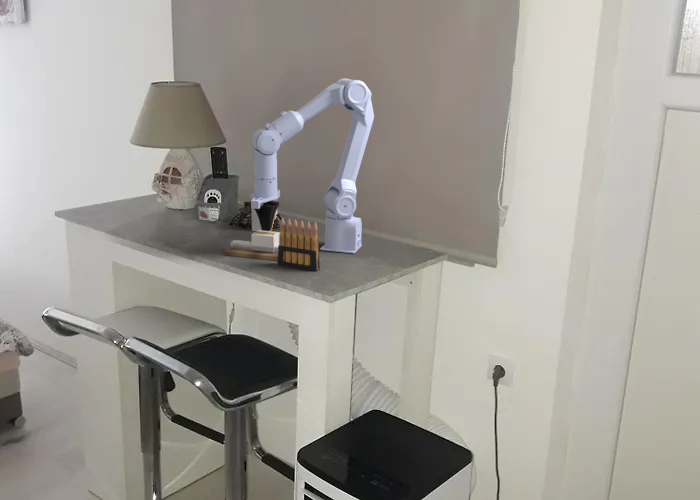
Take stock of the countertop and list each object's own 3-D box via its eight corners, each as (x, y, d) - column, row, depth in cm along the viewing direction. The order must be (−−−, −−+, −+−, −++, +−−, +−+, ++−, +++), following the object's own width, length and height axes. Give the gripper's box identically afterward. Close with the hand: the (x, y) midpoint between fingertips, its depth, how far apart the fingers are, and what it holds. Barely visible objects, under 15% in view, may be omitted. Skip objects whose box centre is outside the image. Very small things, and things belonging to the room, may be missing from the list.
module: (280, 247, 180) (279, 231, 179) (273, 252, 176) (273, 235, 175) (258, 245, 182) (258, 229, 181) (251, 250, 178) (251, 233, 177)
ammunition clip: (277, 265, 171) (277, 217, 167) (281, 263, 172) (280, 216, 169) (316, 271, 167) (316, 223, 163) (319, 269, 168) (320, 221, 165)
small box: (270, 232, 199) (269, 196, 196) (251, 231, 200) (250, 195, 197) (278, 226, 207) (278, 191, 204) (260, 224, 208) (259, 190, 205)
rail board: (305, 252, 181) (305, 248, 181) (293, 262, 173) (293, 258, 173) (238, 245, 186) (238, 241, 186) (223, 254, 178) (223, 251, 177)
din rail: (299, 252, 178) (299, 246, 178) (295, 254, 176) (295, 249, 175) (234, 245, 183) (234, 239, 182) (230, 247, 180) (230, 242, 180)
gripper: (262, 171, 181) (262, 222, 185) (238, 181, 168) (240, 235, 172) (287, 173, 180) (287, 224, 184) (266, 183, 166) (266, 238, 170)
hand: (266, 230), depth 178 cm, fingers closed
